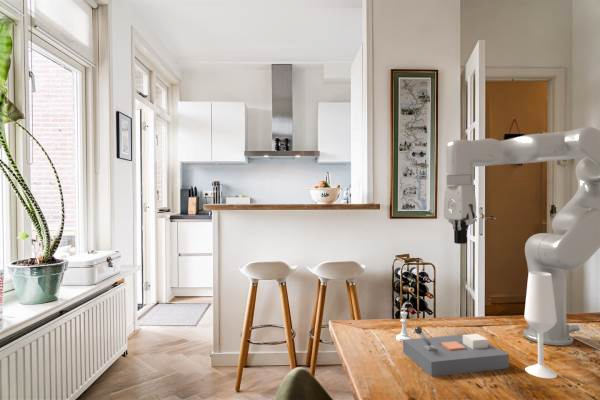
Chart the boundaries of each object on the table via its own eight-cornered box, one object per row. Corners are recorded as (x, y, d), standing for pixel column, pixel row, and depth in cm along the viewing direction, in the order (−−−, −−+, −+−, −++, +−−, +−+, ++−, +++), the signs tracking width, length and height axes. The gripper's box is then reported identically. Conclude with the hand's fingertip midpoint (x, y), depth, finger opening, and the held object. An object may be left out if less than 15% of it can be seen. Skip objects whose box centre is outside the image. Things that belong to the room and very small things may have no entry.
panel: (471, 346, 111) (471, 332, 111) (508, 368, 96) (508, 352, 96) (403, 352, 107) (403, 338, 107) (431, 376, 92) (431, 360, 92)
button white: (477, 342, 106) (477, 333, 106) (488, 348, 101) (487, 339, 101) (462, 344, 105) (462, 334, 105) (473, 350, 100) (472, 340, 100)
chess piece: (413, 342, 115) (413, 308, 115) (396, 341, 116) (395, 308, 116) (412, 336, 119) (411, 304, 119) (395, 335, 120) (395, 303, 120)
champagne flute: (524, 364, 99) (523, 270, 99) (556, 369, 95) (555, 272, 95) (524, 374, 93) (523, 274, 93) (558, 380, 90) (557, 277, 90)
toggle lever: (431, 342, 102) (417, 324, 101) (434, 344, 100) (420, 326, 99) (426, 346, 101) (412, 328, 101) (429, 349, 100) (415, 331, 99)
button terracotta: (455, 350, 104) (455, 341, 104) (465, 357, 100) (465, 347, 100) (440, 352, 104) (440, 342, 104) (450, 358, 99) (450, 348, 99)
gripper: (435, 183, 122) (435, 241, 122) (463, 180, 108) (464, 246, 108) (456, 183, 124) (457, 240, 124) (487, 180, 109) (488, 245, 109)
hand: (460, 243), depth 116 cm, fingers closed
